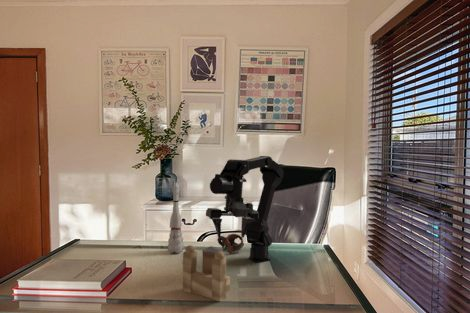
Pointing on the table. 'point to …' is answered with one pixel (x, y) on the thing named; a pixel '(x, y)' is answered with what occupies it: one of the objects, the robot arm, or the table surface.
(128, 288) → the table surface
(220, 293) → the wooden block tower
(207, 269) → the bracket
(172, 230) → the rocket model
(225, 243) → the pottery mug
